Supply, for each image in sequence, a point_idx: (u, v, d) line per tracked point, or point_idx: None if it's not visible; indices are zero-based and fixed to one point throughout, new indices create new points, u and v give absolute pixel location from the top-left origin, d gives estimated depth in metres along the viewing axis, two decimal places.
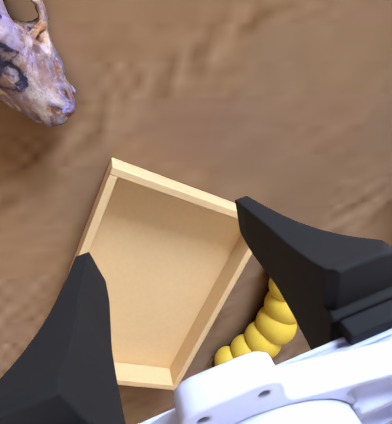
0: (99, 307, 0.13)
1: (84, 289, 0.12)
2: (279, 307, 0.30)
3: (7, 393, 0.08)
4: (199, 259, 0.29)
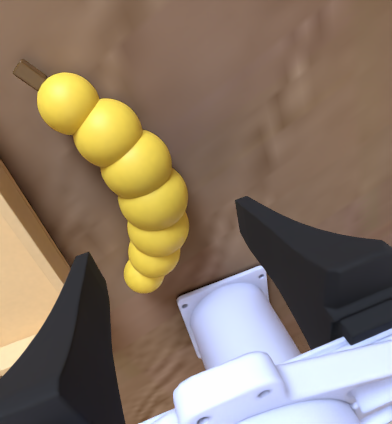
0: (99, 307, 0.13)
1: (84, 289, 0.12)
2: (109, 178, 0.16)
3: (8, 393, 0.08)
4: None
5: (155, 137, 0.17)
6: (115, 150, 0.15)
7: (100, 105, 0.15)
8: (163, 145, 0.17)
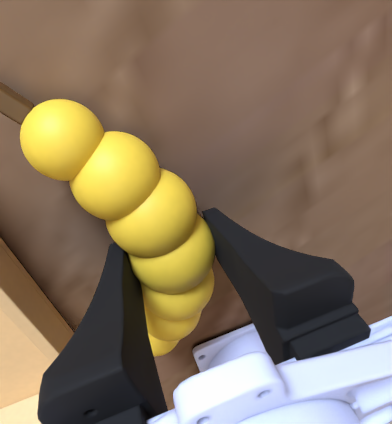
0: (136, 293, 0.13)
1: (124, 274, 0.12)
2: (117, 235, 0.12)
3: (70, 368, 0.08)
4: None
5: (177, 179, 0.13)
6: (126, 203, 0.11)
7: (106, 143, 0.11)
8: (187, 189, 0.13)
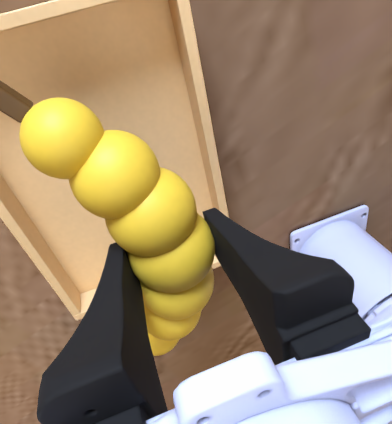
0: (135, 293, 0.13)
1: (124, 274, 0.12)
2: (117, 234, 0.12)
3: (70, 369, 0.08)
4: (146, 102, 0.19)
5: (177, 178, 0.13)
6: (126, 201, 0.11)
7: (105, 141, 0.11)
8: (187, 188, 0.13)
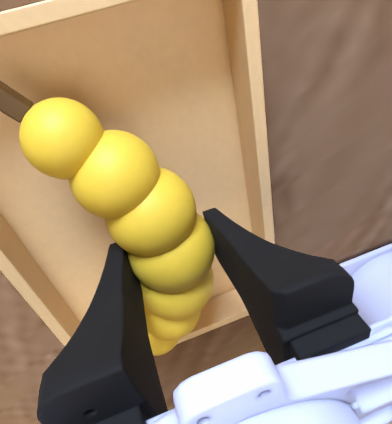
0: (136, 293, 0.13)
1: (124, 274, 0.12)
2: (117, 234, 0.12)
3: (70, 368, 0.08)
4: (185, 123, 0.15)
5: (176, 178, 0.13)
6: (125, 201, 0.11)
7: (105, 141, 0.11)
8: (186, 188, 0.13)
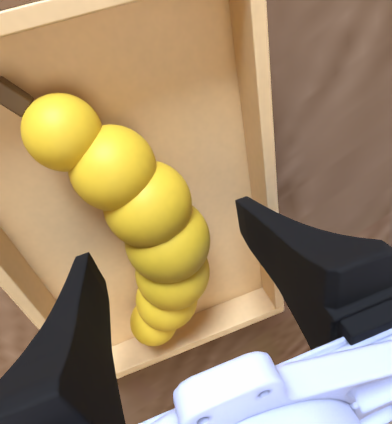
0: (99, 307, 0.13)
1: (84, 289, 0.12)
2: (115, 225, 0.13)
3: (8, 393, 0.08)
4: (189, 128, 0.15)
5: (172, 172, 0.13)
6: (123, 193, 0.12)
7: (103, 135, 0.11)
8: (182, 181, 0.13)
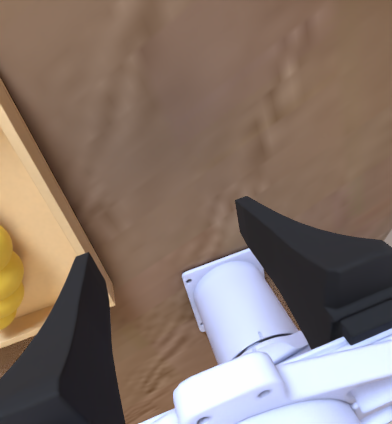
0: (99, 307, 0.13)
1: (84, 289, 0.12)
2: None
3: (8, 393, 0.08)
4: None
5: None
6: None
7: None
8: None
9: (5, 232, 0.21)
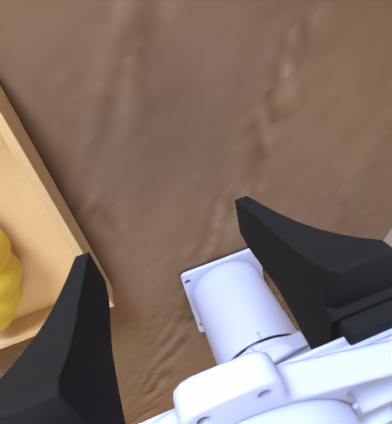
0: (99, 307, 0.13)
1: (84, 289, 0.12)
2: None
3: (7, 393, 0.08)
4: None
5: None
6: None
7: None
8: None
9: (3, 234, 0.21)
